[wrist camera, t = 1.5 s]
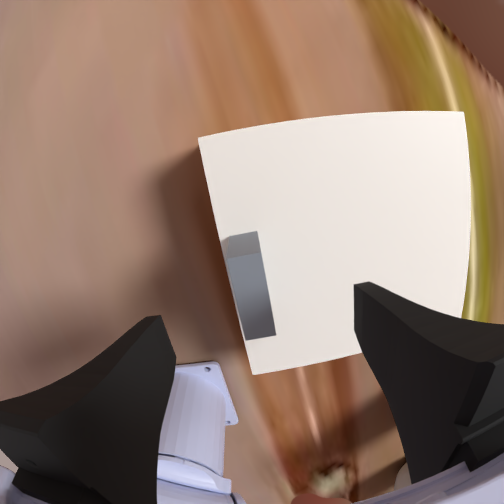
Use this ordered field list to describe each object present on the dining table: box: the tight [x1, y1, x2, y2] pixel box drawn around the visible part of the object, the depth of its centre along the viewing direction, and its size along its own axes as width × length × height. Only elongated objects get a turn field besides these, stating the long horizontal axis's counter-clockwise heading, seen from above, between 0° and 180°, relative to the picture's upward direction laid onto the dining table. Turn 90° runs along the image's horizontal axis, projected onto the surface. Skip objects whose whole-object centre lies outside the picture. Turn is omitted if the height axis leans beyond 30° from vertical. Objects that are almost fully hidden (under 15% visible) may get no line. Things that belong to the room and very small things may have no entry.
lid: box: [198, 111, 471, 375], centre depth 14 cm, size 15×14×4 cm
